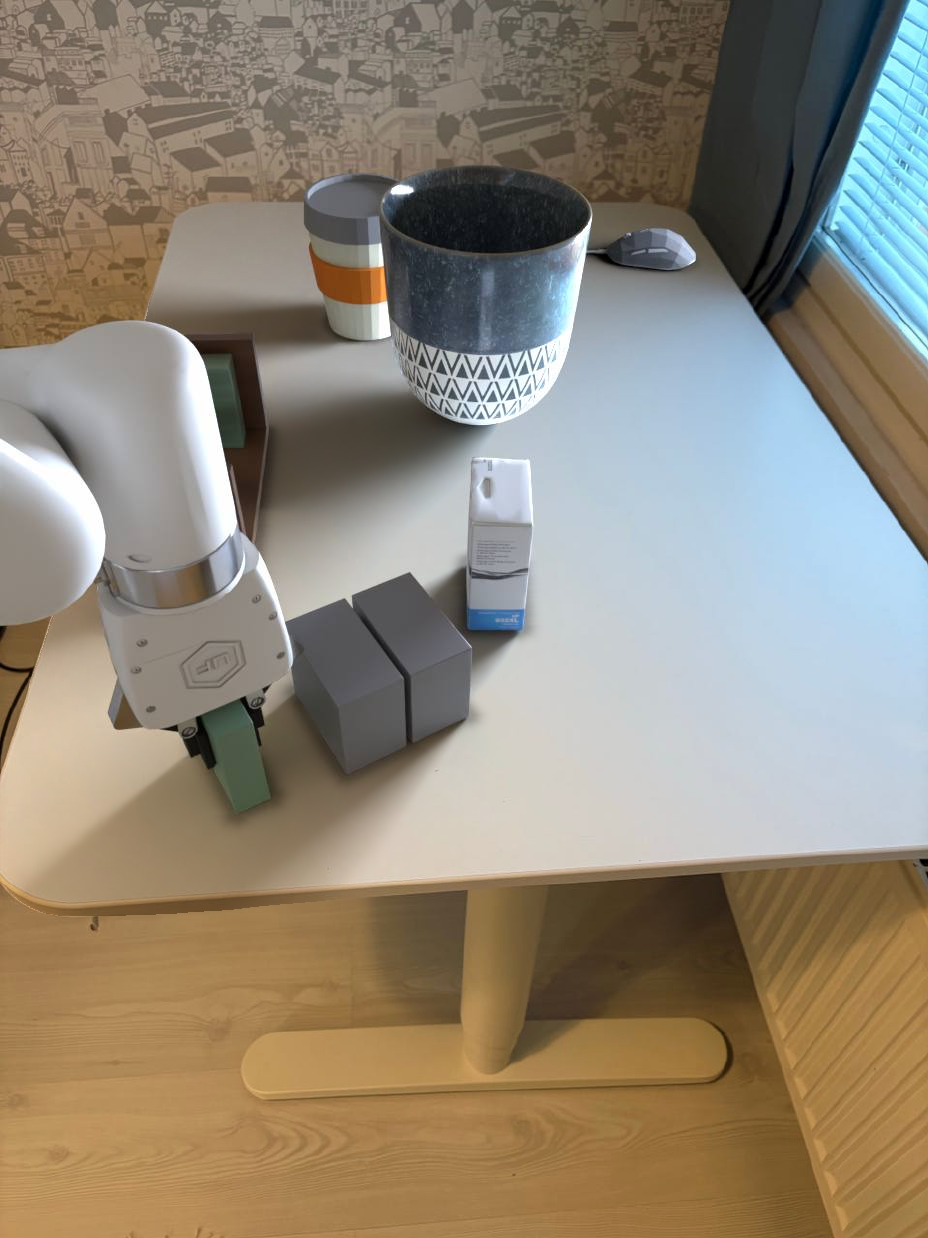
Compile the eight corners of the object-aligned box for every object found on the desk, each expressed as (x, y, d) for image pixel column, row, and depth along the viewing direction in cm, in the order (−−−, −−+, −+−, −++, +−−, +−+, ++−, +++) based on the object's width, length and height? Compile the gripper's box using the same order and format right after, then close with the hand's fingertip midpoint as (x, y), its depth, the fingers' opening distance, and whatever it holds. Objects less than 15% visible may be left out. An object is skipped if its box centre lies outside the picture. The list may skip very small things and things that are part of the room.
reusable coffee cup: (333, 357, 105) (322, 226, 94) (300, 306, 112) (286, 181, 101) (434, 336, 108) (434, 208, 97) (395, 288, 116) (391, 165, 105)
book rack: (251, 574, 80) (230, 472, 72) (123, 578, 79) (87, 476, 71) (269, 431, 95) (253, 332, 86) (161, 433, 94) (135, 334, 86)
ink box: (524, 632, 76) (535, 525, 68) (465, 631, 76) (469, 524, 68) (520, 562, 82) (531, 456, 73) (466, 560, 82) (470, 454, 73)
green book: (236, 815, 64) (214, 739, 57) (200, 744, 68) (175, 666, 61) (271, 798, 65) (253, 722, 58) (233, 729, 69) (212, 651, 62)
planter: (602, 429, 96) (635, 227, 81) (440, 482, 89) (441, 273, 74) (507, 343, 108) (520, 151, 92) (357, 384, 101) (343, 185, 85)
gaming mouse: (585, 242, 126) (589, 213, 123) (693, 252, 125) (699, 223, 122) (583, 263, 122) (586, 234, 119) (694, 273, 121) (701, 244, 118)
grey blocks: (346, 775, 66) (338, 708, 60) (294, 691, 71) (282, 622, 65) (469, 716, 70) (472, 647, 64) (411, 641, 75) (409, 571, 69)
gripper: (39, 649, 45) (130, 837, 59) (335, 539, 51) (355, 732, 65) (3, 559, 49) (95, 754, 63) (280, 467, 55) (310, 663, 69)
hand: (227, 741), depth 64 cm, fingers closed on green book, 2 cm apart
